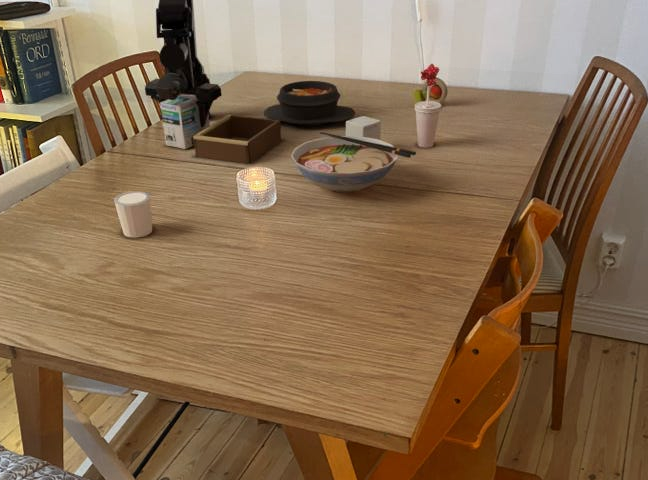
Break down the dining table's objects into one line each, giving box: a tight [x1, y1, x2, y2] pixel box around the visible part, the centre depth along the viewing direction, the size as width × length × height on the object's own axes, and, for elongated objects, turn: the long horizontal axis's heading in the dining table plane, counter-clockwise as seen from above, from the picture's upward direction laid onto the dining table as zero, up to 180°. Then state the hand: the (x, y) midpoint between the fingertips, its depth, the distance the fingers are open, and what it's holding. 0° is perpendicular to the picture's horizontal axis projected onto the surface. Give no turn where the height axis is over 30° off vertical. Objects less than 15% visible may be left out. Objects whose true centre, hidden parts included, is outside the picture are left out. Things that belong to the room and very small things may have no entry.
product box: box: [345, 115, 382, 140], centre depth 176 cm, size 6×6×7 cm
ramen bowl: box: [290, 131, 417, 193], centre depth 158 cm, size 25×23×8 cm
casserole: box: [262, 80, 356, 127], centre depth 196 cm, size 25×19×8 cm
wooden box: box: [193, 114, 282, 165], centre depth 181 cm, size 15×18×5 cm
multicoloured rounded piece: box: [412, 63, 449, 105], centre depth 203 cm, size 6×11×9 cm
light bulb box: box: [159, 94, 211, 150], centre depth 184 cm, size 11×7×11 cm, turn 148°
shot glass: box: [113, 191, 153, 239], centre depth 143 cm, size 7×7×7 cm
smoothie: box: [413, 85, 442, 149], centre depth 176 cm, size 6×6×14 cm
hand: (187, 125), depth 185 cm, fingers open, 9 cm apart
